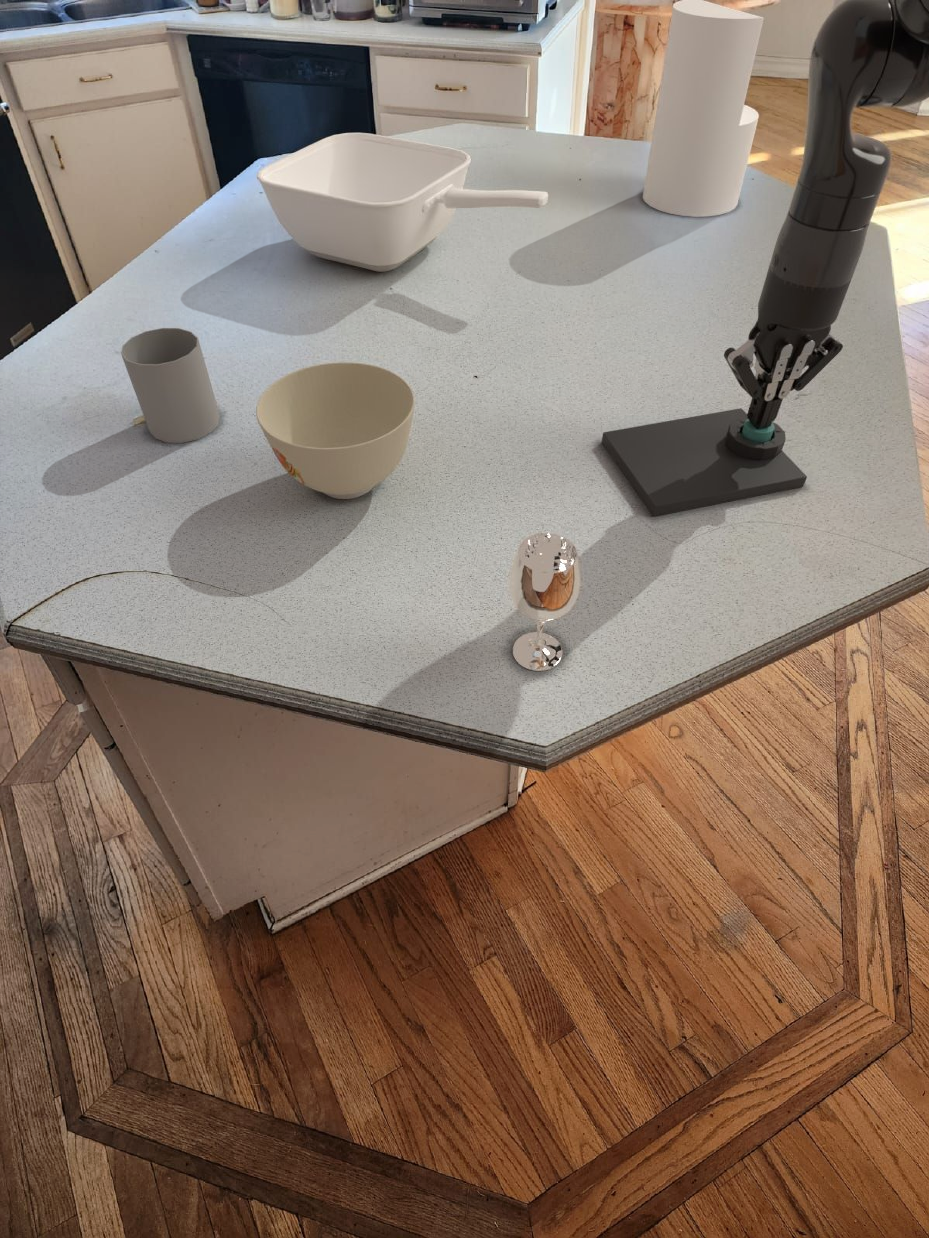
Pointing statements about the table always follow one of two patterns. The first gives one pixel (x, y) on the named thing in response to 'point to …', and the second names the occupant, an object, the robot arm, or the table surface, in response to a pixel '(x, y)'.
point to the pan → (375, 197)
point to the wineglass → (543, 594)
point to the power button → (757, 432)
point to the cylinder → (703, 111)
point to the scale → (701, 462)
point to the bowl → (338, 425)
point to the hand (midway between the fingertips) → (759, 424)
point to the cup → (171, 384)
